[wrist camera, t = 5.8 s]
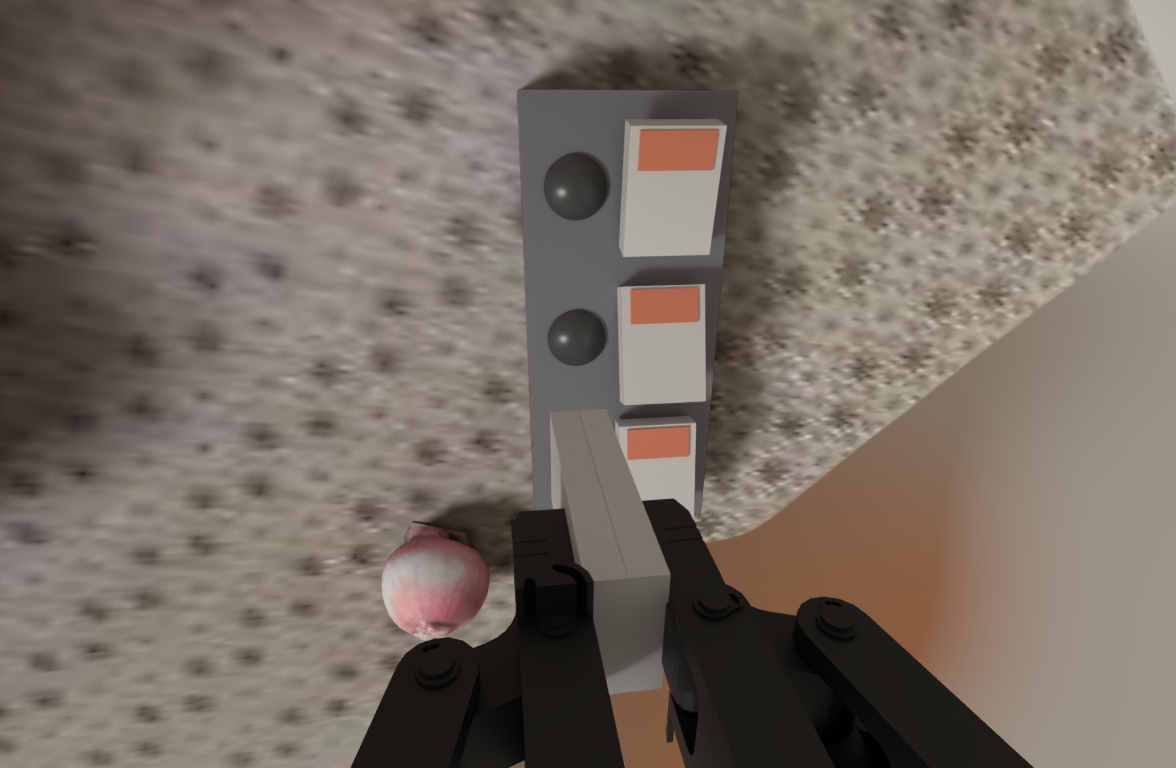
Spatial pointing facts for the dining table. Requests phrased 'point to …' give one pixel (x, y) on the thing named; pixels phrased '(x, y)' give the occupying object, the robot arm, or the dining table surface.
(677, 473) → the rocker
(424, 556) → the onion
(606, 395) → the switch panel
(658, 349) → the rocker
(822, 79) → the dining table surface
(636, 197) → the rocker
